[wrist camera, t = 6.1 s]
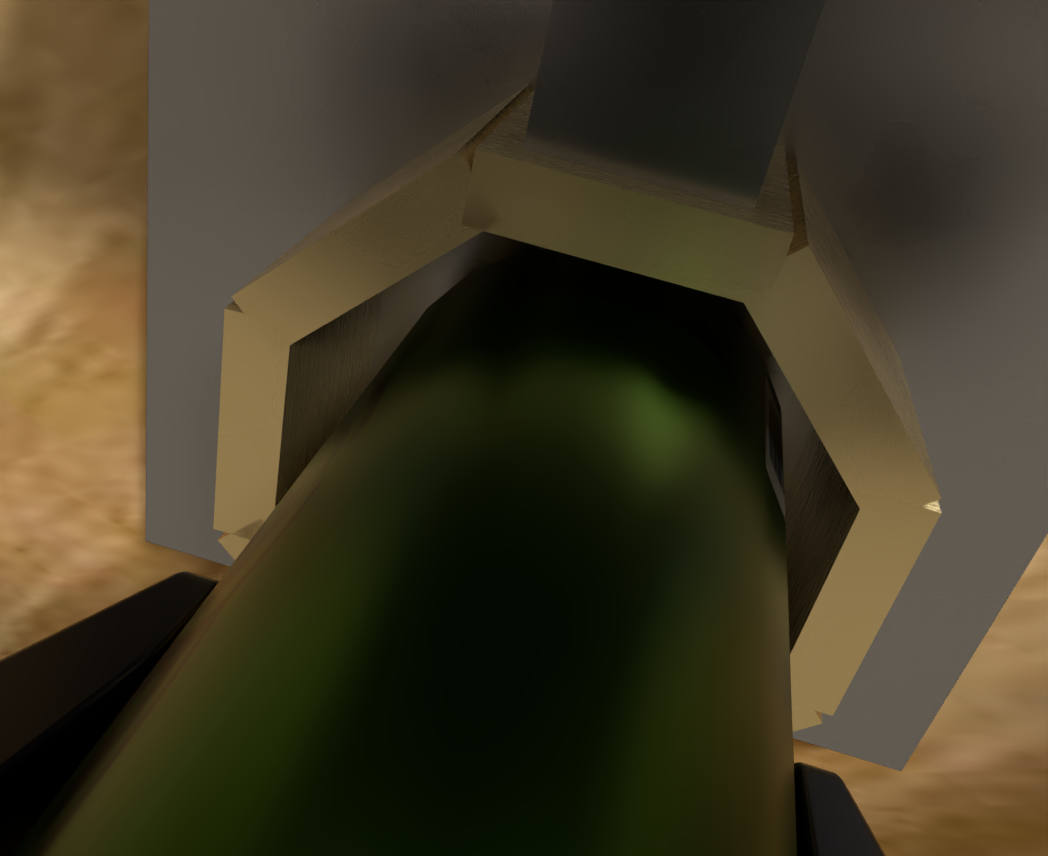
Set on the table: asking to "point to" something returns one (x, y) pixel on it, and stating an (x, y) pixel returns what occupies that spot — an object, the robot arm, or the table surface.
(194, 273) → the cup bracket
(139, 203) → the table surface
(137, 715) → the green soda can
